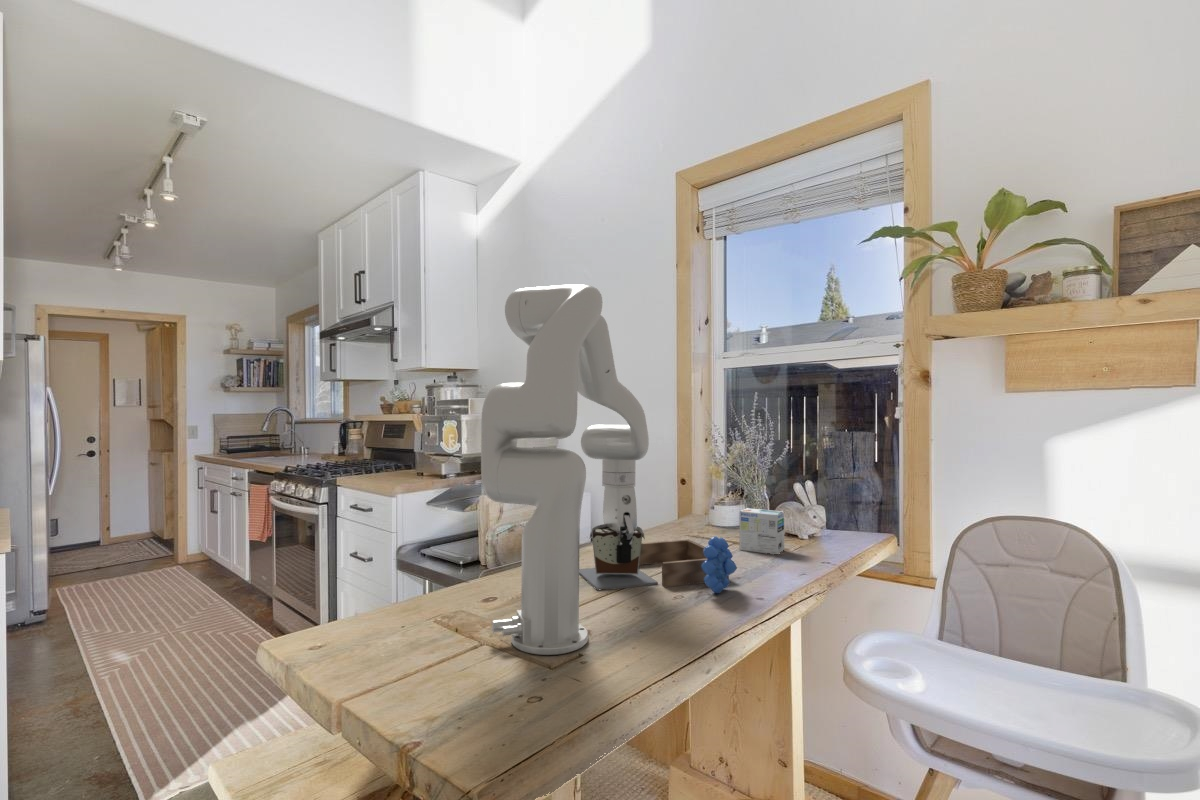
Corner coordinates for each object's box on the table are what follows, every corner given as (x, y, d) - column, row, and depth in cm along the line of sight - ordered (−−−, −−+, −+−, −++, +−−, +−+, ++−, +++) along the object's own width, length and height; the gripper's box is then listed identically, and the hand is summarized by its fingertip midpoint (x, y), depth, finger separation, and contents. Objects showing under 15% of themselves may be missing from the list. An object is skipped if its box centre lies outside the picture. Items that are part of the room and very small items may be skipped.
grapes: (725, 604, 116) (725, 543, 116) (694, 598, 120) (694, 538, 120) (747, 590, 125) (748, 533, 125) (718, 584, 129) (718, 529, 129)
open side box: (663, 586, 127) (664, 563, 127) (630, 564, 145) (630, 543, 145) (728, 580, 132) (728, 557, 132) (688, 559, 150) (688, 539, 150)
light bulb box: (785, 550, 160) (785, 510, 160) (778, 555, 155) (778, 514, 155) (746, 545, 166) (746, 506, 166) (738, 550, 160) (738, 510, 160)
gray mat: (597, 590, 124) (597, 588, 124) (576, 571, 138) (576, 569, 138) (657, 584, 129) (657, 582, 129) (631, 566, 143) (631, 564, 143)
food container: (643, 565, 137) (643, 522, 137) (644, 574, 131) (644, 530, 131) (590, 564, 138) (590, 522, 137) (589, 573, 132) (589, 529, 131)
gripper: (649, 483, 127) (648, 567, 126) (620, 474, 143) (619, 549, 143) (616, 484, 124) (615, 570, 124) (591, 475, 141) (590, 551, 140)
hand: (618, 558), depth 133 cm, fingers closed on food container, 6 cm apart
